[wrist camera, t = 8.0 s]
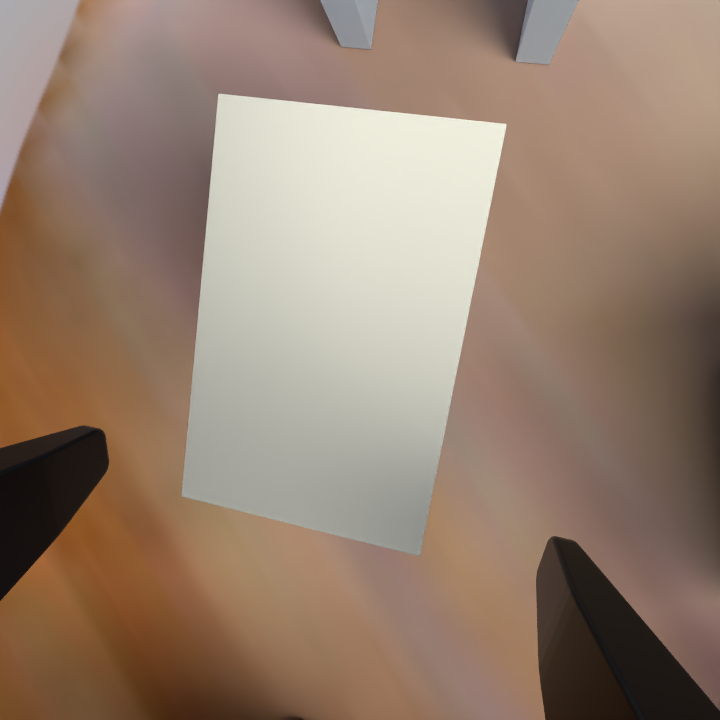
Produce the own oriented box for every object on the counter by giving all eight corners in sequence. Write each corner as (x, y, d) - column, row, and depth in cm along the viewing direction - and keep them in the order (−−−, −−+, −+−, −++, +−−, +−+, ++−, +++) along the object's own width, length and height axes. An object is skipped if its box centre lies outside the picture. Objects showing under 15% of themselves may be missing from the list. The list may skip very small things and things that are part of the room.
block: (436, 395, 20) (419, 555, 8) (333, 374, 20) (181, 496, 9) (469, 225, 18) (507, 124, 7) (359, 209, 19) (218, 93, 7)
